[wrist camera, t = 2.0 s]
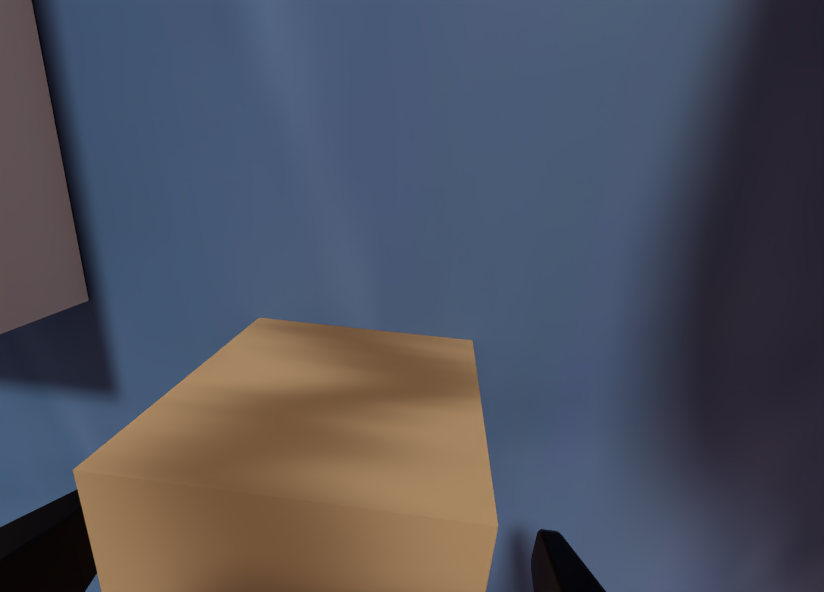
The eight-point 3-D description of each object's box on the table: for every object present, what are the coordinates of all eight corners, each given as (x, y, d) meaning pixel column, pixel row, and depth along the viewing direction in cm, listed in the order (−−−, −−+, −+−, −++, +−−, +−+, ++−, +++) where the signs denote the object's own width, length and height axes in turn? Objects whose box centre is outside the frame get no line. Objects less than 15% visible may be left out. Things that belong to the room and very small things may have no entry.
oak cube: (472, 339, 11) (498, 525, 5) (448, 508, 13) (449, 777, 7) (260, 316, 11) (72, 470, 6) (268, 484, 13) (133, 724, 8)
